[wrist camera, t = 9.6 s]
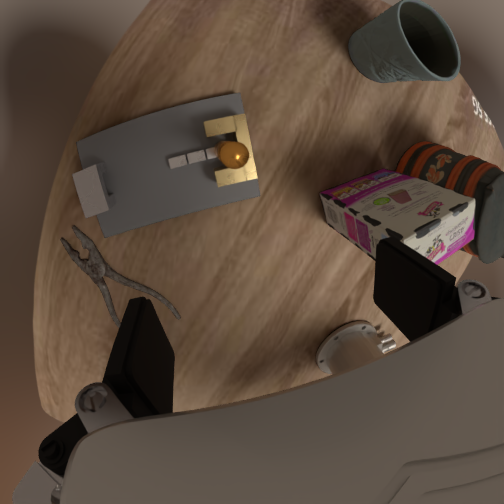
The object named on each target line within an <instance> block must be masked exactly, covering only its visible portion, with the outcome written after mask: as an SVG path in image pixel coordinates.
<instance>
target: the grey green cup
mask: <svg viewBox="0 0 504 504" xmlns="http://www.w3.org/2000/svg"><path fill="white" fill-rule="evenodd" d="M348 48H349V54H350V57H351V60H352V62H353V63H354V65H355V66H356V68H357V69H358V70H359V72H360V73H362V74H363V75H364V76H366V77H367V78H369V79H371V80H373V81H376V82H379V83H388V82H396V81H416V80H422V81H450V80H453V79H454V78H455V77H456V76H457V74H458V72H459V69H460V52H459V48H458V45H457V43H456V40H455V38H454V36H453V33H452V31H451V30H450V27H449V26H448V25H447V23H446V22H445V20H444V19H443V18H442V17H441V16H440V14H439V13H438V12H436V11H435V10H434V9H433V8H432V7H430V6H429V5H428V4H426V3H424V2H423V1H420V0H401V1H400V2H398V3H396V4H395V5H394V6H392V7H390V8H389V9H388V10H386V11H384V13H381V14H380V15H379V16H378V17H376V18H374V20H373V21H370V22H369V23H367V24H366V25H364V26H363V27H362V28H360V29H358V30H357V31H356V32H354V33H353V34H352V36H351V37H350V40H349V45H348Z"/></svg>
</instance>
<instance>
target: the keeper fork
mask: <svg viewBox="0 0 504 504" xmlns="http://www.w3.org/2000/svg"><path fill="white" fill-rule="evenodd" d="M203 125H204V130H205V134H206V138H207V137H211V136H216V135H220V134H225V133H230V132H232V134H233V139H234V142H240V143H242V144H244V145H245V146H246V147H247V149H248V151H249V160H248V162H247V163H246V165H245V166H243V167H242V168H239V169H230V168H228V167H227V166H222V167H217V168H213V170H214V175H215V179H216V183H217V186H218V187H221V186H225V185H230V184H234V183H238V182H243V181H247V180H252V179H256V178H257V173H256V168H255V163H254V158H253V153H252V147H251V142H250V137H249V132H248V127H247V122H246V117H245V113H244V114H239V115H233V116H228V117H223V118H218V119H214V120H209V121H205V122H203Z"/></svg>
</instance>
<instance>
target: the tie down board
mask: <svg viewBox="0 0 504 504" xmlns="http://www.w3.org/2000/svg"><path fill="white" fill-rule="evenodd" d="M239 114H244V109H243V104H242V99H241V95H240V93H235V94H229V95H224V96H219V97H214V98H209V99H204V100H200V101H195V102H191V103H187V104H183V105H179V106H175V107H172V108H168V109H165V110H161V111H158V112H154V113H151V114H148V115H145V116H142V117H139V118H136V119H133V120H130V121H127V122H124V123H122V124H119V125H116V126H114V127H111V128H108V129H106V130H103V131H101V132H98V133H96V134H94V135H91V136H89V137H87V138H84V139H82V140H80V141H78V142H76V144H77V149H78V153H79V157H80V161H81V165H82V169H86V168H88V167H91V166H93V165H95V164H99V163H102V162H105V163H106V167H107V171H108V172H106V173H103V174H102V176H103V180H104V184H105V187H106V190H107V194H108V195H111V194H114V195H115V198H116V202H117V204H116V205H114V206H113V207H112V208H111V209H110V210H108V211H105V212H102V213H100V214H97V218H98V221H99V224H100V226H101V229H102V232H103V235H104V237H105V238H107V237H110V236H113V235H116V234H120V233H123V232H126V231H129V230H133V229H136V228H139V227H143V226H146V225H150V224H153V223H157V222H160V221H164V220H167V219H171V218H174V217H178V216H182V215H185V214H189V213H193V212H197V211H201V210H204V209H208V208H212V207H216V206H220V205H224V204H228V203H233V202H237V201H241V200H245V199H249V198H254V197H258V196H260V191H259V185H258V180H257V178H256V179H252V180H247V181H243V182H238V183H234V184H230V185H225V186H221V187H218V186H217V183H216V179H215V175H214V170H213V168H217V167H222V166H225V165H224V164H223V163H222V162H221V161H220V160H219V159H218V158H217V157H216V158H212V159H208V158H207V153H206V149H208V148H212V147H215V145H216V144H217V143H218V142H220V141H233V142H234V139H233V134H232V132H230V133H225V134H220V135H216V136H211V137H207V138H206V134H205V130H204V125H203V122H205V121H209V120H214V119H218V118H223V117H228V116H233V115H239ZM200 150H204V153H205V157H206V160H203V161H199V162H195V163H192V164H189V161H188V157H187V154H188V153H192V152H196V151H200ZM184 154H185V155H186V159H187V163H188V164H187V165H184V166H180V167H177V168H173V169H171V168H170V164H169V160H168V159H170V158H173V157H177V156H180V155H184Z"/></svg>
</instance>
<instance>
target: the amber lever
mask: <svg viewBox="0 0 504 504" xmlns="http://www.w3.org/2000/svg"><path fill="white" fill-rule="evenodd" d="M206 153H207V158H208V159H212V158H216V157H217V158H218V159H219V160H220V161H221V162H222V163H223V164H224V165H225V166H227V167H228V168H230V169H239V168H242V167H243V166H245V165H246V163H247V162H248V160H249V151H248V149H247V147H246V146H245V145H244V144H242V143H240V142H233V141H220V142H218V143H217V144H216V145H215V147H212V148H208V149H206ZM187 157H188V161H189V164H192V163H195V162H199V161H203V160H206V157H205V153H204V150H200V151H196V152H192V153H188V154H187ZM168 160H169V164H170V168H171V169H173V168H177V167H180V166H184V165H187V164H188V163H187V159H186V155H185V154H184V155H180V156H177V157H173V158H170V159H168Z"/></svg>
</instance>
